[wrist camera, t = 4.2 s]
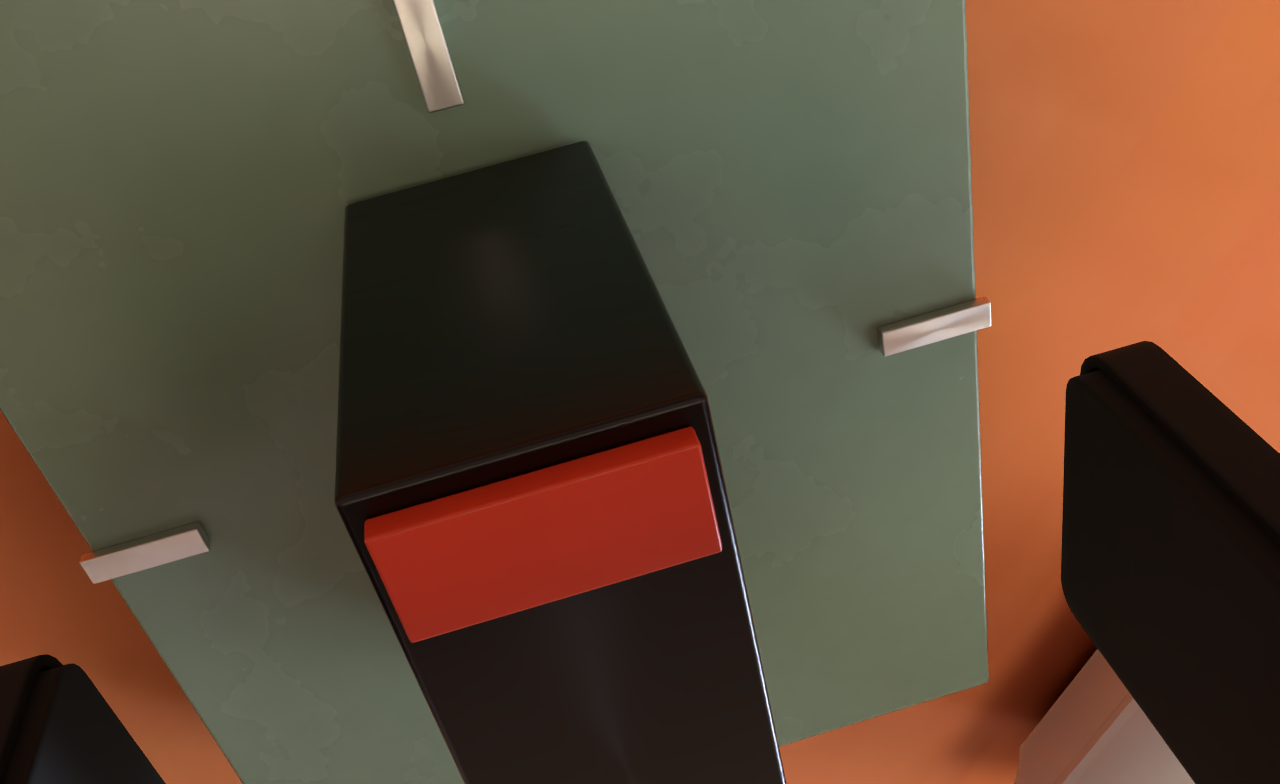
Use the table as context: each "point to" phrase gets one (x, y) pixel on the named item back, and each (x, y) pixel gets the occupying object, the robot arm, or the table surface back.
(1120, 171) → the table surface
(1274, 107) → the table surface
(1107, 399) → the robot arm
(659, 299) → the black rectangular block
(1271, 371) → the table surface
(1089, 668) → the white square urn
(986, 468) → the table surface
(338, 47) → the green base plate
